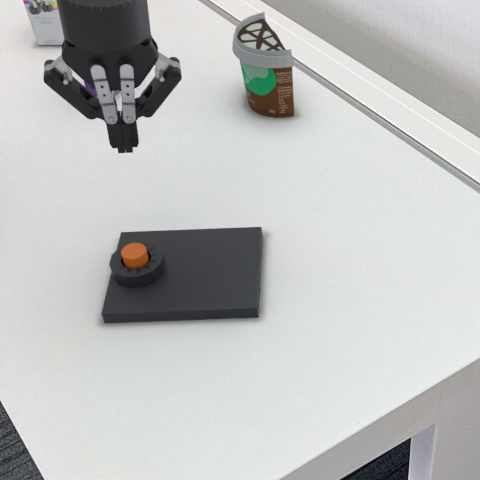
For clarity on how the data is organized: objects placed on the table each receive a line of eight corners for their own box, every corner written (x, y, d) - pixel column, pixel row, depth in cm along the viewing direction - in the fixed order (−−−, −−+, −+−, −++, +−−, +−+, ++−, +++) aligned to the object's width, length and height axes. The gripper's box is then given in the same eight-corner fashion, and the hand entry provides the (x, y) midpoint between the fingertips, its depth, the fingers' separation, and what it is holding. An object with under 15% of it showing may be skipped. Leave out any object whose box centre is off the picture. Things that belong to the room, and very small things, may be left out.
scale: (104, 323, 79) (96, 303, 77) (123, 241, 88) (117, 220, 86) (258, 317, 80) (255, 296, 77) (262, 235, 88) (260, 215, 86)
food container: (229, 87, 110) (219, 18, 103) (270, 78, 112) (263, 10, 104) (254, 131, 103) (245, 60, 95) (297, 121, 104) (292, 51, 96)
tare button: (122, 270, 81) (119, 259, 80) (126, 253, 83) (123, 242, 82) (147, 269, 81) (144, 258, 80) (150, 252, 83) (147, 242, 82)
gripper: (13, 4, 61) (57, 175, 75) (182, 2, 64) (194, 168, 77) (18, -42, 65) (58, 128, 79) (175, -41, 68) (188, 123, 82)
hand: (125, 147), depth 78 cm, fingers closed
